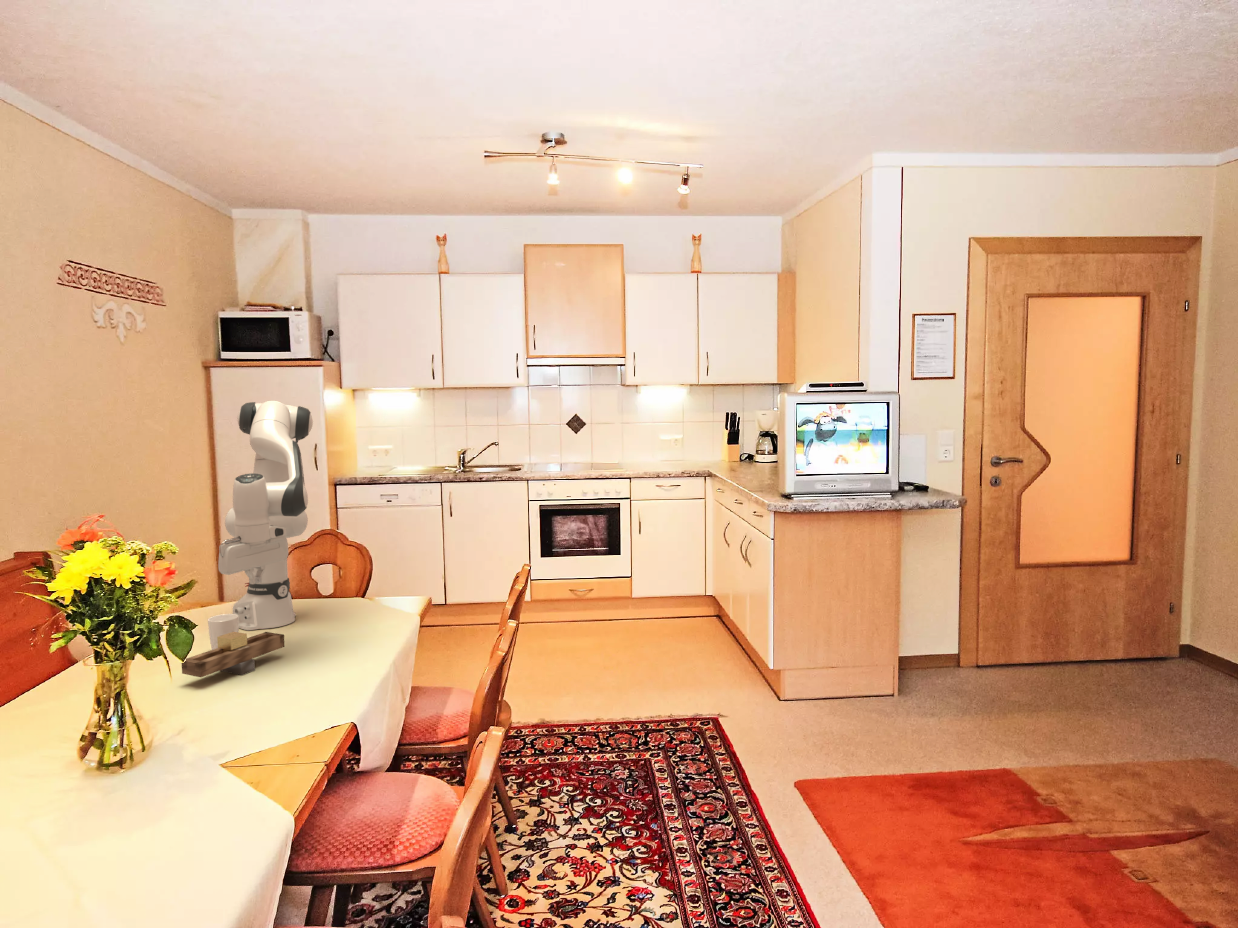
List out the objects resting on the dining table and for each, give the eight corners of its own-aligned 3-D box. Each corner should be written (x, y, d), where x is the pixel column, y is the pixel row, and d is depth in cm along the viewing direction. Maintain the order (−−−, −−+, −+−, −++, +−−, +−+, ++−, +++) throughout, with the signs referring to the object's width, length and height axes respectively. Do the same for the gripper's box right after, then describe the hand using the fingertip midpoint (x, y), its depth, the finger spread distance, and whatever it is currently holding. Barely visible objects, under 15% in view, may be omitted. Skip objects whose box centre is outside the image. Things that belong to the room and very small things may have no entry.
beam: (204, 689, 192) (202, 663, 191) (180, 684, 196) (178, 659, 195) (287, 657, 216) (286, 634, 215) (264, 653, 219) (263, 630, 219)
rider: (231, 658, 201) (230, 638, 201) (218, 656, 203) (217, 636, 203) (247, 652, 206) (246, 633, 205) (234, 650, 208) (233, 631, 207)
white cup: (245, 647, 225) (244, 613, 224) (229, 656, 217) (227, 621, 216) (220, 646, 226) (218, 613, 225) (203, 655, 218) (201, 621, 217)
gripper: (227, 541, 199) (231, 593, 200) (290, 527, 217) (293, 575, 219) (210, 540, 201) (214, 591, 203) (274, 526, 220) (277, 573, 221)
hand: (256, 582), depth 211 cm, fingers closed
